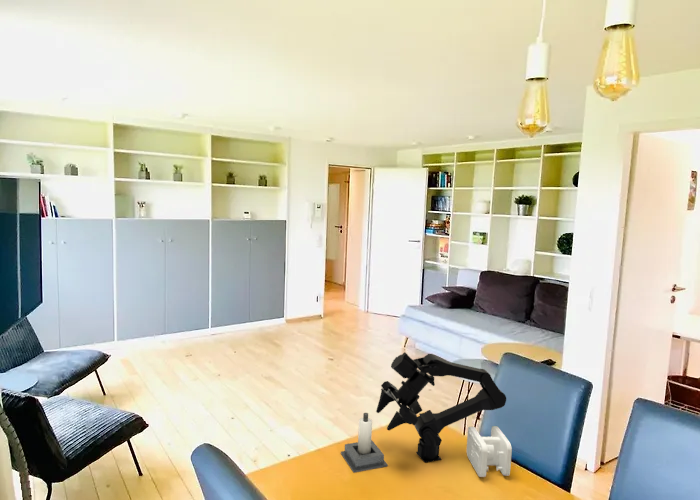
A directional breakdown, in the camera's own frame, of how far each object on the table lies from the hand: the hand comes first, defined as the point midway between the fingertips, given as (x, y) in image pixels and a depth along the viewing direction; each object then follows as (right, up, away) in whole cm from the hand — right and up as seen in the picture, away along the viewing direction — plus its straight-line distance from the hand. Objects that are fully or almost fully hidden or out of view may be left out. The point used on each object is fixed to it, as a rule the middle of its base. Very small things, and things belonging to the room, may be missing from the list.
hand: (382, 420), depth 155 cm
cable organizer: (+34, -15, -2) cm, 38 cm away
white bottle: (-6, -12, 0) cm, 14 cm away
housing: (-6, -13, 0) cm, 14 cm away
